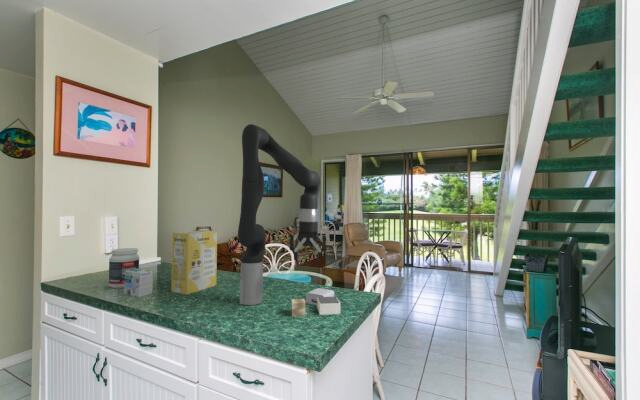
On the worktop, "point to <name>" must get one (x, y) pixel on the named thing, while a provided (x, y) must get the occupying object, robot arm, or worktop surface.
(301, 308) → the wooden cube
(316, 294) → the charger
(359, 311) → the worktop surface
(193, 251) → the yellow carton with handle
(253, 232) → the robot arm
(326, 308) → the plinth
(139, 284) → the light bulb box
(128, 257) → the supplement tub
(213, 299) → the worktop surface
